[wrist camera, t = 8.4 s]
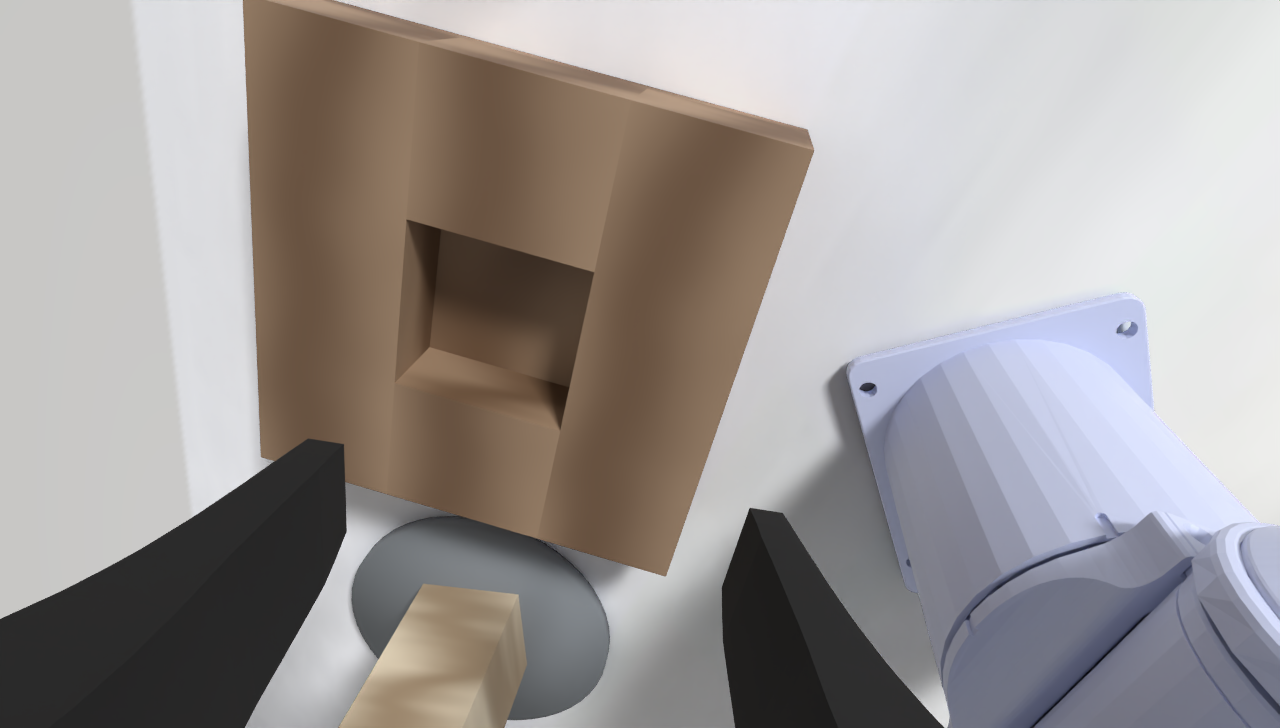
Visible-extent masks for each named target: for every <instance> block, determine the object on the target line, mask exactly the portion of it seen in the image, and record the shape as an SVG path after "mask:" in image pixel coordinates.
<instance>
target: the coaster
mask: <svg viewBox="0 0 1280 728" xmlns="http://www.w3.org/2000/svg"><path fill="white" fill-rule="evenodd" d="M423 584H431V585H439V586H448V587H457V588H466V589H475V590H484V591H492V592H501V593H510V594H518V595H519V603H520V611H521V620H522V628H523V636H524V644H525V652H526V660H527V666H526V669H525V672H524V674H523V677H522V680H521V683H520V685H519V688H518V691H517V694H516V697H515V699H514V702H513V705H512V708H511V710H510V713H509V716H508V719H507V720H526V719H535V718H541V717H546V716H550V715H553V714H557V713H559V712H562V711H564V710H566V709H569V708H571V707H572V706H574V705H575V704H577V703H579V702H580V701H582V700H583V699H584V698H585V697H586V696H587V695H588V694H590V692H591V691H592V690H593V689H594V687H595V686H596V685H597V683H598V681H599V680H600V678H601V676H602V674H603V670H604V667H605V664H606V660H607V656H608V652H609V643H610V634H609V625H608V621H607V617H606V613H605V611H604V609H603V606H602V604H601V602H600V600H599V598H598V596H597V595H596V593H595V591H594V590H593V588H592V587H591V585H590V584H589V583H588V582H587V580H586V579H585V578H584V577H583V575H582V574H581V573H580V572H579V571H578V570H577V569H576V568H575V567H574V566H573V565H572V564H571V563H570V562H568V561H567V560H566V559H565V558H563V557H562V556H561V555H560V554H559V553H557V552H556V551H554V550H553V549H551V548H550V547H548V546H547V545H545V544H544V543H542V542H540V541H538V540H536V539H534V538H533V537H530V536H527V535H523V534H520V533H517V532H513V531H510V530H506V529H503V528H500V527H496V526H493V525H489V524H486V523H483V522H479V521H476V520H473V519H469V518H464V517H436V518H429V519H423V520H419V521H415V522H412V523H408V524H406V525H404V526H401V527H399V528H397V529H395V530H393V531H392V532H390V533H389V534H387V535H386V536H384V537H383V538H382V539H381V540H380V541H379V542H378V543H376V544H375V545H374V547H373V548H372V549H371V551H370V552H369V554H368V555H367V556H366V558H365V559H364V560H363V562H362V563H361V565H360V566H359V569H358V571H357V573H356V575H355V578H354V583H353V587H352V605H353V612H354V616H355V619H356V622H357V625H358V627H359V630H360V632H361V634H362V636H363V638H364V639H365V641H366V643H367V644H368V646H369V647H370V649H371V650H372V651H373V653H374V654H375V655H376V656H377V658H378V659H379V658H380V656H381V655H382V653H383V651H384V649H385V648H386V646H387V644H388V643H389V641H390V639H391V638H392V636H393V634H394V632H395V631H396V629H397V627H398V626H399V624H400V622H401V621H402V619H403V617H404V615H405V614H406V612H407V610H408V609H409V607H410V605H411V604H412V602H413V600H414V599H415V597H416V595H417V593H418V592H419V590H420V588H421V587H422V585H423Z"/></svg>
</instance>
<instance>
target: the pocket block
mask: <svg viewBox="0 0 1280 728" xmlns="http://www.w3.org/2000/svg"><path fill="white" fill-rule="evenodd" d="M243 17H244V42H245V67H246V92H247V117H248V142H249V167H250V192H251V218H252V243H253V268H254V293H255V318H256V343H257V368H258V393H259V419H260V444H261V457H263V458H266V459H269V460H273V461H276V460H277V459H279V458H280V457H282V456H283V455H284V454H286V453H287V452H289V451H290V450H292V449H293V448H295V447H296V446H298V445H299V444H301V443H302V442H304V441H305V440H307V439H308V438H309V439H315V440H322V441H328V442H334V443H341V444H344V459H345V482H347V483H351V484H354V485H357V486H361V487H364V488H368V489H371V490H374V491H378V492H381V493H384V494H388V495H391V496H395V497H398V498H401V499H405V500H408V501H412V502H415V503H418V504H422V505H425V506H429V507H432V508H435V509H439V510H442V511H445V512H449V513H452V514H456V515H459V516H462V517H466V518H469V519H473V520H476V521H479V522H483V523H486V524H489V525H493V526H496V527H500V528H503V529H506V530H510V531H513V532H517V533H520V534H523V535H527V536H530V537H534V538H537V539H540V540H544V541H547V542H550V543H554V544H557V545H561V546H564V547H567V548H571V549H574V550H578V551H581V552H584V553H588V554H591V555H594V556H598V557H601V558H605V559H608V560H611V561H615V562H618V563H622V564H625V565H628V566H632V567H635V568H638V569H642V570H645V571H649V572H652V573H655V574H659V575H662V576H666V575H667V572H668V569H669V566H670V563H671V560H672V557H673V555H674V552H675V549H676V546H677V543H678V540H679V537H680V534H681V532H682V529H683V526H684V523H685V520H686V517H687V514H688V512H689V509H690V506H691V503H692V500H693V497H694V494H695V491H696V489H697V486H698V483H699V480H700V477H701V474H702V471H703V468H704V466H705V463H706V460H707V457H708V454H709V451H710V448H711V445H712V443H713V440H714V437H715V434H716V431H717V428H718V425H719V422H720V420H721V417H722V414H723V411H724V408H725V405H726V402H727V400H728V397H729V394H730V391H731V388H732V385H733V382H734V379H735V377H736V374H737V371H738V368H739V365H740V362H741V359H742V356H743V354H744V351H745V348H746V345H747V342H748V339H749V336H750V333H751V331H752V328H753V325H754V322H755V319H756V316H757V313H758V310H759V308H760V305H761V302H762V299H763V296H764V293H765V290H766V288H767V285H768V282H769V279H770V276H771V273H772V270H773V267H774V265H775V262H776V259H777V256H778V253H779V250H780V247H781V244H782V242H783V239H784V236H785V233H786V230H787V227H788V224H789V221H790V219H791V216H792V213H793V210H794V207H795V204H796V201H797V198H798V196H799V193H800V190H801V187H802V184H803V181H804V178H805V176H806V173H807V170H808V167H809V164H810V161H811V158H812V155H813V153H814V148H813V145H812V142H811V139H810V136H809V133H808V130H806V129H803V128H799V127H795V126H792V125H788V124H784V123H781V122H777V121H774V120H770V119H766V118H763V117H759V116H755V115H752V114H748V113H744V112H741V111H737V110H733V109H730V108H726V107H722V106H719V105H715V104H711V103H708V102H704V101H700V100H697V99H693V98H689V97H686V96H682V95H678V94H675V93H671V92H667V91H664V90H660V89H656V88H653V87H649V86H645V85H642V84H638V83H634V82H631V81H627V80H623V79H620V78H616V77H612V76H609V75H605V74H601V73H598V72H594V71H590V70H587V69H583V68H579V67H576V66H572V65H568V64H565V63H561V62H557V61H554V60H550V59H547V58H543V57H539V56H536V55H532V54H528V53H525V52H521V51H517V50H514V49H510V48H506V47H503V46H499V45H495V44H492V43H488V42H484V41H481V40H477V39H473V38H470V37H466V36H462V35H459V34H455V33H451V32H448V31H444V30H440V29H437V28H433V27H429V26H426V25H422V24H418V23H415V22H411V21H407V20H404V19H400V18H396V17H393V16H389V15H385V14H382V13H378V12H374V11H371V10H367V9H363V8H360V7H356V6H352V5H349V4H345V3H341V2H338V1H334V0H243Z"/></svg>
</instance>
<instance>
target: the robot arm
mask: <svg viewBox="0 0 1280 728" xmlns="http://www.w3.org/2000/svg"><path fill="white" fill-rule="evenodd" d="M1126 321H1132V322H1131V326H1130V327H1129V329H1128V330H1126V331H1124V332H1122V333H1116V331H1117V328H1118V327H1119V326H1120V324H1122V323H1124V322H1126ZM846 372H847V379H848V382H849V386H850V390H851V393H852V397H853V400H854V404H855V408H856V411H857V415H858V418H859V422H860V426H861V429H862V433H863V436H864V440H865V443H866V447H867V451H868V454H869V458H870V461H871V465H872V469H873V472H874V476H875V479H876V483H877V487H878V490H879V494H880V497H881V501H882V504H883V508H884V512H885V515H886V519H887V522H888V526H889V530H890V533H891V537H892V540H893V544H894V548H895V551H896V555H897V558H898V562H899V565H900V569H901V573H902V576H903V580H904V583H905V586H906V588H907V589H908V590H910V591H911V592H914V593H918V595H919V598H920V602H921V606H922V610H923V614H924V618H925V622H926V625H927V629H928V633H929V637H930V641H931V645H932V649H933V652H934V656H935V660H936V664H937V668H938V672H939V676H940V680H941V683H942V687H943V689H944V693H945V697H946V701H947V706H948V710H949V714H950V719H949V725H948V728H1280V526H1278V525H1273V524H1265V523H1260V522H1259V521H1258V520H1257V519H1256V518H1255V517H1254V516H1253V515H1252V514H1251V513H1250V512H1249V511H1248V510H1247V509H1246V508H1245V507H1244V505H1243V504H1242V503H1241V502H1240V501H1239V500H1238V499H1237V498H1236V497H1235V496H1234V495H1233V494H1232V493H1231V492H1230V491H1229V490H1228V489H1227V488H1226V487H1225V486H1224V484H1223V483H1222V482H1221V481H1220V480H1219V479H1218V478H1217V477H1216V476H1215V475H1214V474H1213V473H1212V472H1211V471H1210V470H1209V469H1208V468H1207V467H1206V466H1205V465H1204V463H1203V462H1202V461H1201V460H1200V459H1199V458H1198V457H1197V456H1196V455H1195V454H1194V453H1193V452H1192V451H1191V450H1190V449H1189V448H1188V447H1187V446H1186V445H1185V444H1184V442H1183V441H1182V440H1181V439H1180V438H1179V437H1178V436H1177V435H1176V434H1175V433H1174V432H1173V431H1172V430H1171V429H1170V428H1169V427H1168V426H1167V425H1166V424H1165V423H1164V421H1163V420H1162V419H1161V418H1160V417H1159V416H1158V415H1157V414H1156V413H1155V412H1154V402H1153V390H1152V378H1151V366H1150V355H1149V343H1148V331H1147V319H1146V308H1145V305H1144V303H1143V302H1142V301H1141V300H1140V299H1139V298H1137V297H1136V296H1135V295H1134V294H1131V293H1127V292H1124V293H1116V294H1112V295H1108V296H1104V297H1100V298H1096V299H1092V300H1088V301H1084V302H1080V303H1076V304H1072V305H1067V306H1063V307H1059V308H1055V309H1051V310H1047V311H1043V312H1039V313H1035V314H1031V315H1027V316H1023V317H1019V318H1015V319H1011V320H1006V321H1002V322H998V323H994V324H990V325H986V326H982V327H978V328H974V329H970V330H966V331H962V332H958V333H954V334H950V335H945V336H941V337H937V338H933V339H929V340H925V341H921V342H917V343H913V344H909V345H905V346H901V347H897V348H893V349H889V350H885V351H880V352H876V353H872V354H868V355H864V356H860V357H857V358H855V359H853V360H852V361H851V362H850V363H849V364H848V367H847V369H846ZM869 382H871V383H873V384H875V387H874V388H873V389H872V390H870V391H863V390H860V389H859V388H860V387H861V385H862V384H864V383H869ZM346 532H347V530H346V494H345V459H344V444H341V443H334V442H328V441H322V440H315V439H309V438H308V439H307V440H305V441H304V442H302V443H301V444H299V445H298V446H296V447H295V448H293V449H292V450H290V451H289V452H287V453H286V454H284V455H283V456H282V457H280V458H279V459H277V460H276V461H275V462H273V463H272V464H270V465H269V466H267V467H266V468H265V469H263V470H262V471H260V472H259V473H257V474H256V475H255V476H253V477H252V478H250V479H249V480H247V481H246V482H245V483H243V484H242V485H240V486H239V487H237V488H236V489H234V490H233V491H231V492H230V493H228V494H227V495H225V496H224V497H222V498H221V499H219V500H218V501H216V502H215V503H214V504H212V505H211V506H209V507H208V508H206V509H205V510H203V511H202V512H200V513H199V514H197V515H195V516H194V517H192V518H191V519H189V520H188V521H186V522H185V523H183V524H181V525H179V526H178V527H176V528H175V529H173V530H171V531H170V532H168V533H166V534H165V535H163V536H161V537H160V538H158V539H157V540H155V541H153V542H152V543H150V544H149V545H147V546H145V547H143V548H142V549H140V550H138V551H137V552H135V553H133V554H131V555H130V556H128V557H126V558H124V559H122V560H120V561H119V562H117V563H115V564H113V565H111V566H109V567H108V568H106V569H104V570H102V571H100V572H98V573H96V574H94V575H92V576H90V577H88V578H86V579H84V580H83V581H80V582H79V583H77V584H75V585H73V586H71V587H69V588H67V589H65V590H63V591H61V592H59V593H56V594H54V595H52V596H50V597H48V598H45V599H43V600H41V601H39V602H37V603H34V604H32V605H30V606H28V607H26V608H23V609H21V610H19V611H17V612H15V613H12V614H10V615H8V616H6V617H4V618H2V619H0V728H245V726H246V724H247V722H248V720H249V718H250V716H251V714H252V713H253V711H254V709H255V707H256V705H257V703H258V701H259V699H260V698H261V696H262V694H263V692H264V691H265V689H266V687H267V685H268V684H269V682H270V680H271V678H272V677H273V675H274V673H275V671H276V670H277V668H278V666H279V664H280V663H281V661H282V659H283V657H284V656H285V654H286V652H287V650H288V649H289V647H290V645H291V643H292V642H293V640H294V638H295V636H296V635H297V633H298V631H299V630H300V628H301V626H302V624H303V622H304V621H305V619H306V617H307V615H308V614H309V612H310V610H311V608H312V606H313V605H314V603H315V601H316V599H317V598H318V596H319V594H320V592H321V590H322V588H323V587H324V585H325V583H326V580H327V578H328V576H329V573H330V571H331V569H332V566H333V564H334V562H335V559H336V557H337V554H338V552H339V549H340V547H341V544H342V542H343V539H344V537H345V534H346ZM908 558H909V559H908ZM722 622H723V644H724V652H725V659H726V666H727V674H728V681H729V688H730V695H731V702H732V708H733V715H734V722H735V728H944V727H943V726H942V725H941V724H940V723H939V722H938V721H937V720H936V719H935V717H934V716H933V715H932V714H931V713H930V712H929V711H928V710H927V709H926V708H925V707H924V706H923V705H922V703H921V702H920V701H919V700H918V699H917V698H916V697H915V696H914V694H913V693H912V692H911V691H910V690H909V689H908V688H907V686H906V685H905V684H904V683H903V682H902V681H901V680H900V679H899V677H898V676H897V675H896V674H895V673H894V672H893V670H892V669H891V668H890V667H889V666H888V664H887V663H886V662H885V661H884V659H883V658H882V657H881V656H880V654H879V653H878V652H877V651H876V649H875V648H874V647H873V645H872V644H871V643H870V641H869V640H868V639H867V638H866V636H865V635H864V634H863V632H862V631H861V630H860V629H859V627H858V626H857V624H856V623H855V622H854V620H853V619H852V618H851V616H850V615H849V613H848V612H847V610H846V609H845V608H844V606H843V605H842V603H841V602H840V600H839V599H838V597H837V596H836V595H835V593H834V592H833V590H832V589H831V587H830V586H829V584H828V583H827V581H826V580H825V578H824V577H823V575H822V574H821V572H820V571H819V569H818V568H817V566H816V564H815V563H814V561H813V560H812V558H811V557H810V555H809V554H808V552H807V550H806V549H805V547H804V546H803V544H802V543H801V541H800V539H799V538H798V536H797V535H796V533H795V531H794V530H793V528H792V527H791V525H790V524H789V522H788V521H787V519H786V518H785V516H784V515H783V513H779V512H772V511H766V510H760V509H753V508H750V509H749V512H748V515H747V517H746V520H745V523H744V526H743V529H742V532H741V534H740V537H739V540H738V543H737V546H736V549H735V552H734V554H733V557H732V560H731V563H730V566H729V569H728V571H727V574H726V577H725V580H724V583H723V586H722Z"/></svg>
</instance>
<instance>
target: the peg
mask: <svg viewBox="0 0 1280 728" xmlns="http://www.w3.org/2000/svg"><path fill="white" fill-rule="evenodd" d="M526 666H527V660H526V652H525V644H524V636H523V628H522V620H521V611H520V603H519V595H518V594H510V593H501V592H492V591H484V590H475V589H466V588H457V587H448V586H439V585H431V584H423V585H422V587H421V588H420V590H419V592H418V593H417V595H416V597H415V599H414V600H413V602H412V604H411V605H410V607H409V609H408V610H407V612H406V614H405V615H404V617H403V619H402V621H401V622H400V624H399V626H398V627H397V629H396V631H395V632H394V634H393V636H392V638H391V639H390V641H389V643H388V644H387V646H386V648H385V649H384V651H383V653H382V655H381V656H380V658H379V660H378V661H377V663H376V665H375V666H374V668H373V670H372V671H371V673H370V675H369V677H368V678H367V680H366V682H365V683H364V685H363V687H362V688H361V690H360V692H359V694H358V695H357V697H356V699H355V700H354V702H353V704H352V705H351V707H350V709H349V710H348V712H347V714H346V716H345V717H344V719H343V721H342V722H341V724H340V726H339V727H338V728H504V727H505V724H506V722H507V719H508V716H509V713H510V710H511V708H512V705H513V702H514V699H515V697H516V694H517V691H518V688H519V685H520V683H521V680H522V677H523V674H524V672H525V669H526Z"/></svg>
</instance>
